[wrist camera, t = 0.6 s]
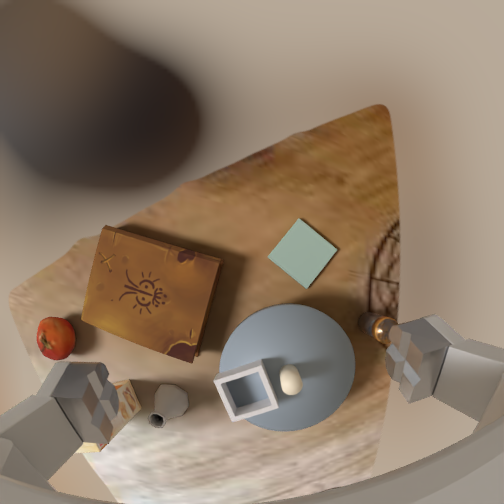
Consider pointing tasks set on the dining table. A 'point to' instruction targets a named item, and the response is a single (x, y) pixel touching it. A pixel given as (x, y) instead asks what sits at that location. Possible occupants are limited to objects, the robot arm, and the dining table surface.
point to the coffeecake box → (118, 414)
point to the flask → (168, 404)
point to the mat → (302, 253)
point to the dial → (285, 368)
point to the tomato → (55, 338)
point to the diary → (151, 292)
